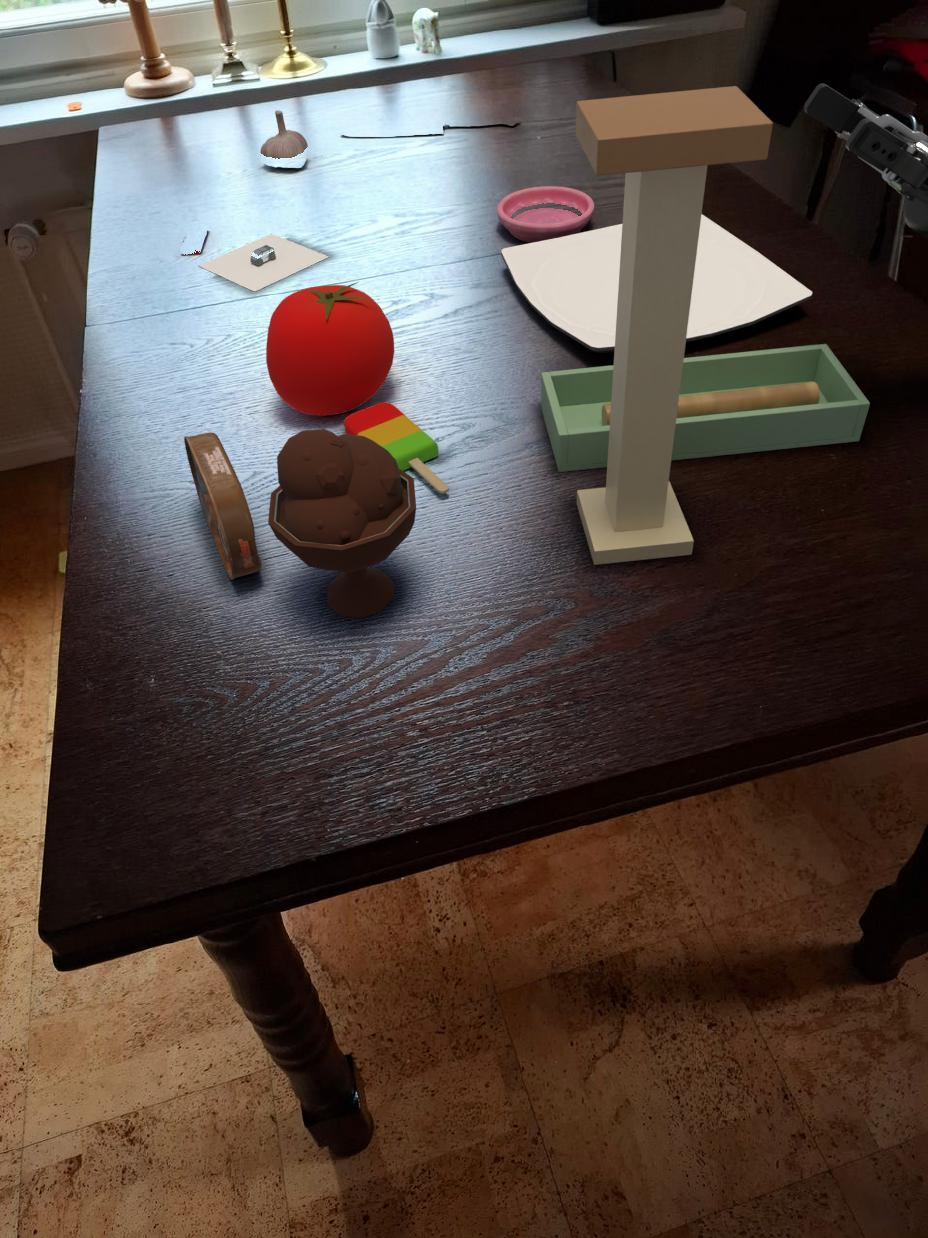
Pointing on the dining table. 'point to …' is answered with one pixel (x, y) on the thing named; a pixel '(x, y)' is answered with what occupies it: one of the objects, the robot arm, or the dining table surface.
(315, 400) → the tomato
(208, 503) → the tin
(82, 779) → the dining table surface
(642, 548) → the stand
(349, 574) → the ice cream bowl
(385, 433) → the popsicle
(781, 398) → the wooden rod
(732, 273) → the plate
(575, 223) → the saucer
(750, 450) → the tray
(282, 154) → the garlic bulb
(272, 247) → the beige placemat
